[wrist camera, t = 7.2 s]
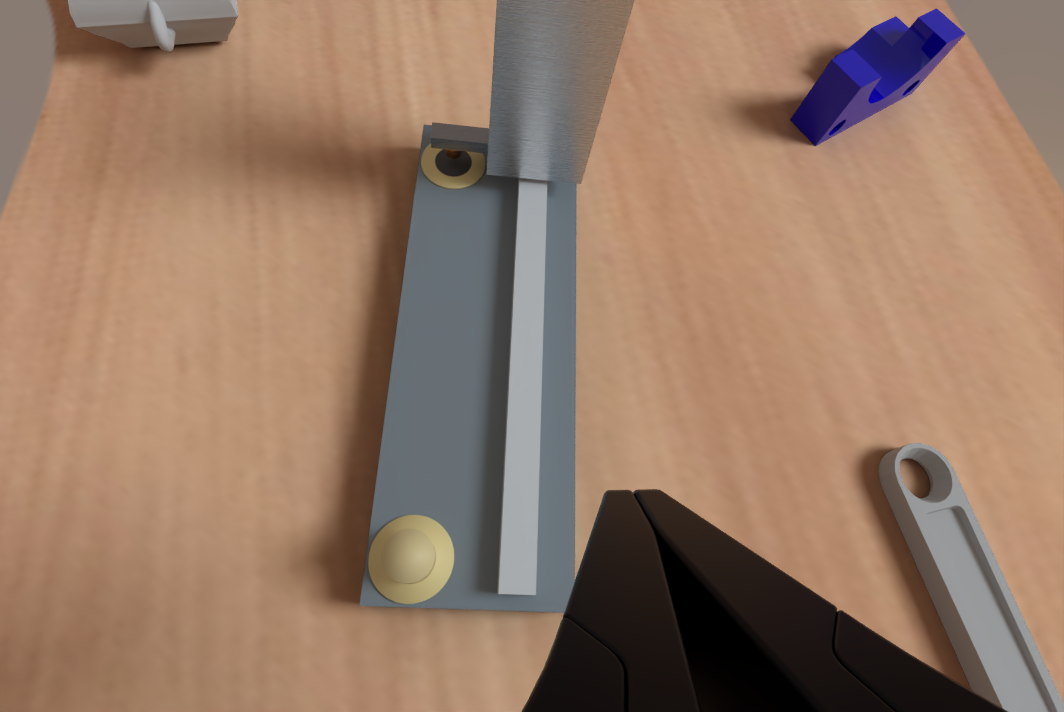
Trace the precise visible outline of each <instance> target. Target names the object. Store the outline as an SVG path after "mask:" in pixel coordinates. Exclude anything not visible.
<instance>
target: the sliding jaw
mask: <svg viewBox="0 0 1064 712" xmlns="http://www.w3.org/2000/svg"><path fill="white" fill-rule="evenodd" d="M633 4H634V0H497V7H496V24H495V41H494V57H493V74H492V91H491V108H490V125H489V129H488V128H478V127H469V126H460V125H451V124H441V123H432V129H431V137H430V138H431V148H438V149H445V152H446V155H447V156H448V157H449V158H451V159H457V158H459V157H460V156H461V154H462V151H467V152H477V153H486V154H488V159H487V175H496V176H506V177H516V178H526V179H536V180H546V181H556V182H566V183H576V184H581V182H582V179H583V175H584V172H585V169H586V165H587V162H588V158H589V155H590V151H591V148H592V145H593V141H594V138H595V134H596V131H597V127H598V124H599V120H600V117H601V114H602V110H603V107H604V103H605V100H606V96H607V93H608V89H609V86H610V83H611V79H612V76H613V72H614V69H615V65H616V62H617V59H618V55H619V52H620V48H621V45H622V41H623V38H624V34H625V31H626V28H627V24H628V21H629V17H630V14H631V10H632V7H633Z"/></svg>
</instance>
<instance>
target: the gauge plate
mask: <svg viewBox="0 0 1064 712" xmlns="http://www.w3.org/2000/svg"><path fill="white" fill-rule="evenodd" d="M431 129H432V126H431V125H424V127H423V135H422V142H421V150H420V157H419V164H418V172H417V179H416V187H415V194H414V202H413V209H412V217H411V224H410V232H409V239H408V247H407V254H406V262H405V269H404V277H403V284H402V292H401V299H400V306H399V314H398V321H397V329H396V336H395V344H394V351H393V359H392V366H391V374H390V381H389V389H388V396H387V404H386V411H385V419H384V426H383V433H382V441H381V448H380V456H379V463H378V471H377V478H376V486H375V493H374V501H373V508H372V516H371V523H370V531H369V538H368V546H367V553H366V561H365V568H364V575H363V583H362V590H361V598H360V605H359V606H380V607H411V608H441V609H471V610H502V611H532V612H563V613H565V610H566V607H567V604H568V601H569V598H570V595H571V592H572V589H573V586H574V583H575V387H576V183H566V182H556V181H546V180H536V179H526V178H516V177H506V176H496V175H487V159H488V154H486V153H477V152H467V151H462V154H461V156H460V157H459V158H457V159H451V158H449V157H448V156H447V155H446V152H445V149H438V148H431V138H430V137H431Z"/></svg>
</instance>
